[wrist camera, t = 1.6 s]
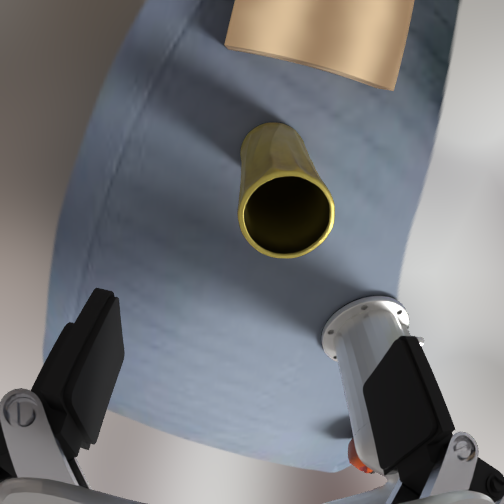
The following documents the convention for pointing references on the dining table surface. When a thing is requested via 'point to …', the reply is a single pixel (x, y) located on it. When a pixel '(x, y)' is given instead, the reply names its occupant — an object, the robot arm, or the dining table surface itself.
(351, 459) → the orange brown round lump
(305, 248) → the vase
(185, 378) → the dining table surface
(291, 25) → the plinth
